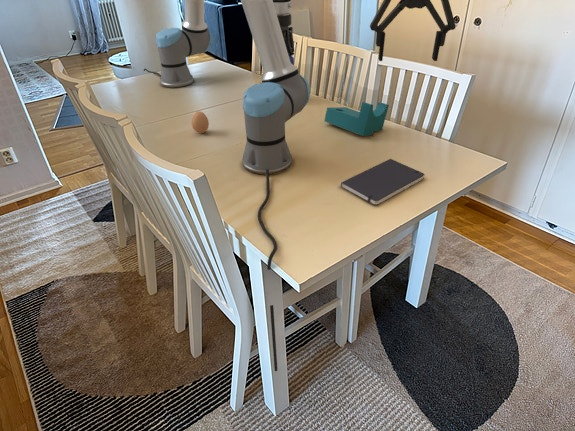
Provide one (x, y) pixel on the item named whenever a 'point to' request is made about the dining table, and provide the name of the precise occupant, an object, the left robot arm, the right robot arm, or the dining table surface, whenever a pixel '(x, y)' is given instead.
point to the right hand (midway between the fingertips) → (407, 59)
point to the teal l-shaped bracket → (358, 118)
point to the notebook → (382, 181)
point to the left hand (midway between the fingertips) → (283, 74)
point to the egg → (199, 122)
